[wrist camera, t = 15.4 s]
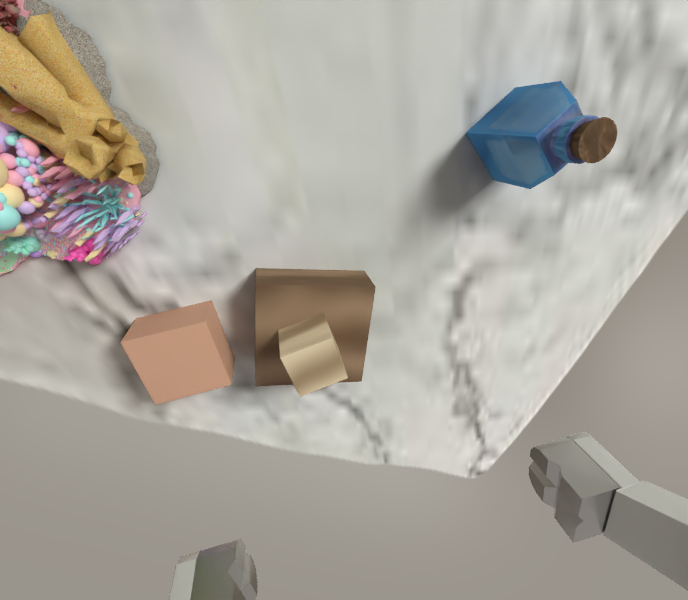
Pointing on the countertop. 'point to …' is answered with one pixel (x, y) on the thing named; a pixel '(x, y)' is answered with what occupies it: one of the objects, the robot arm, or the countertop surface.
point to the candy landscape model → (63, 144)
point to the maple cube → (311, 354)
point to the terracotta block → (180, 352)
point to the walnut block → (311, 315)
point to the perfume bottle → (539, 135)
